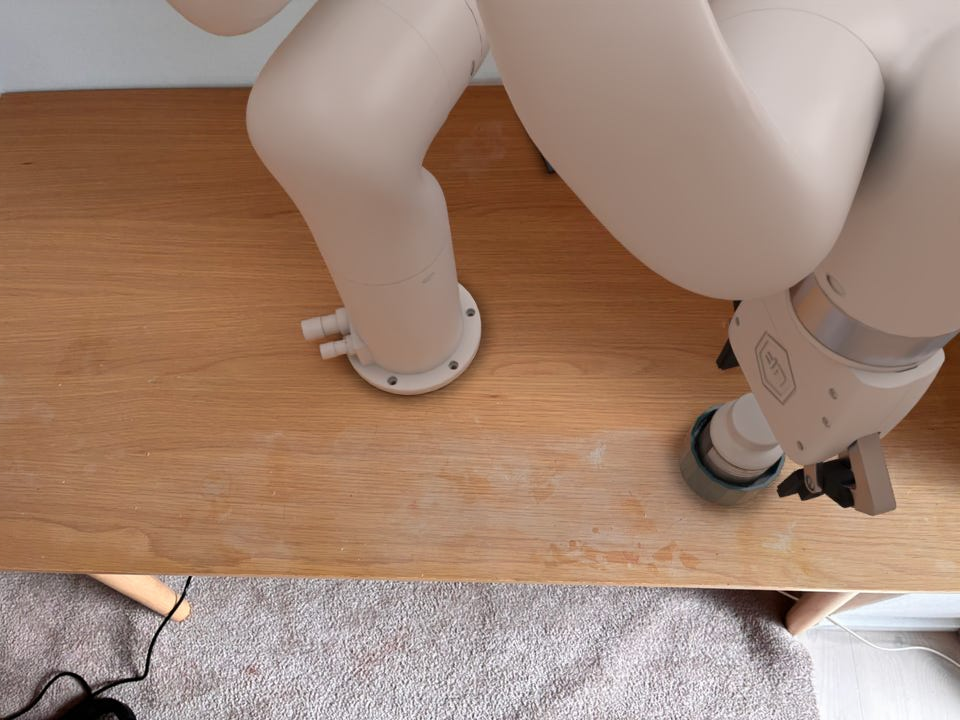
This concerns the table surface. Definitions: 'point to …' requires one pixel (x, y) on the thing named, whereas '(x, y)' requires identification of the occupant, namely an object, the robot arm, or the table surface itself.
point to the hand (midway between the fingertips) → (766, 421)
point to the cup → (706, 482)
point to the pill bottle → (738, 443)
